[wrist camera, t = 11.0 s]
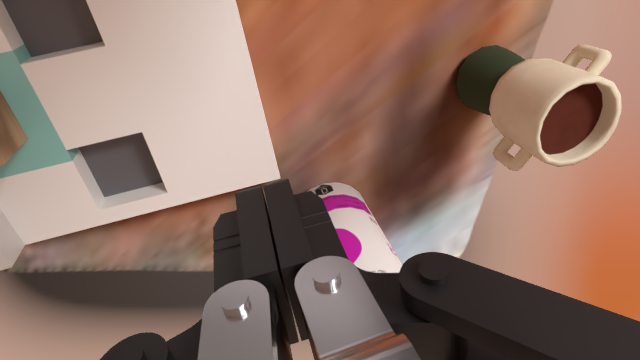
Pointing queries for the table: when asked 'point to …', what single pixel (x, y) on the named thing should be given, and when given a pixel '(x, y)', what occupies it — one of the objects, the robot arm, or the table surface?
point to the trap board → (124, 112)
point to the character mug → (542, 103)
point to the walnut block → (9, 132)
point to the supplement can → (358, 229)
